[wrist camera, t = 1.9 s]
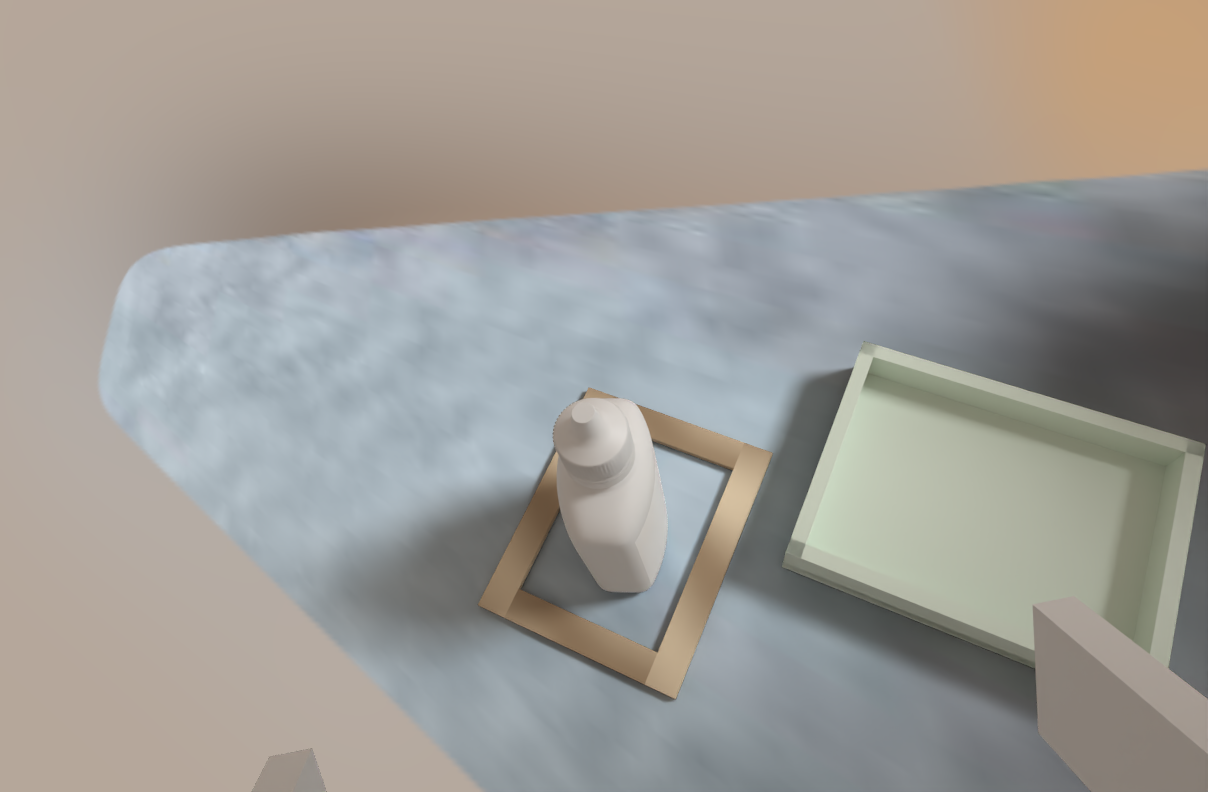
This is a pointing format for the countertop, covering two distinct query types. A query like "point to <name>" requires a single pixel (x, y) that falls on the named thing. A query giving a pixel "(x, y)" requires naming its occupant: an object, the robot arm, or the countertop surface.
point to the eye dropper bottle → (611, 492)
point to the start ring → (701, 585)
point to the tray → (996, 507)
